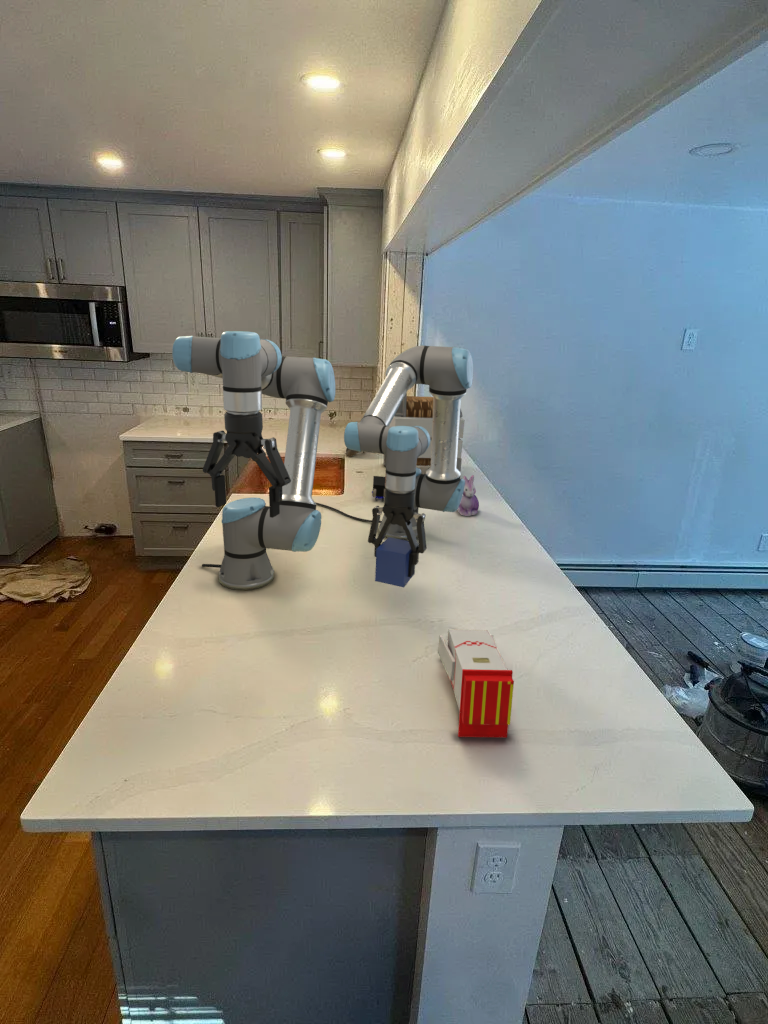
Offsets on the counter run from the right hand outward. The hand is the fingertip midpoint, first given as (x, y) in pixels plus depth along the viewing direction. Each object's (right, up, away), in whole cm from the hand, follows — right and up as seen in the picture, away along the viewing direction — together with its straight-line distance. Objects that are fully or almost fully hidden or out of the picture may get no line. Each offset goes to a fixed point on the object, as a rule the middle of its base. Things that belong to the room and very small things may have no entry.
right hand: (395, 571), depth 149 cm
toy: (+15, -22, -30) cm, 40 cm away
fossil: (-17, +48, +158) cm, 166 cm away
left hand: (-32, +16, -27) cm, 45 cm away
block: (0, -2, +1) cm, 2 cm away
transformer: (+14, +34, +126) cm, 131 cm away
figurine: (+30, +15, +75) cm, 82 cm away
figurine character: (-5, +22, +88) cm, 91 cm away
